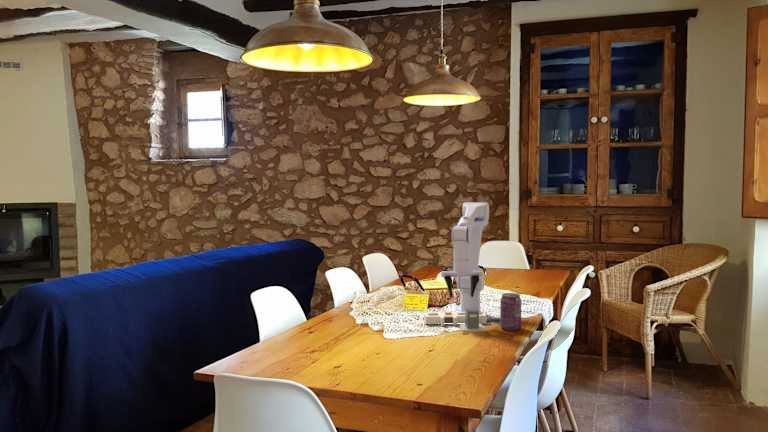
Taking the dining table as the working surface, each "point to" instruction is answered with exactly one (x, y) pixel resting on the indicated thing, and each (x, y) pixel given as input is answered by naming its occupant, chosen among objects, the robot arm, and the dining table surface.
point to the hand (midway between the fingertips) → (461, 296)
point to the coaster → (464, 329)
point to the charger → (471, 318)
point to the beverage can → (510, 311)
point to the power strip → (453, 318)
